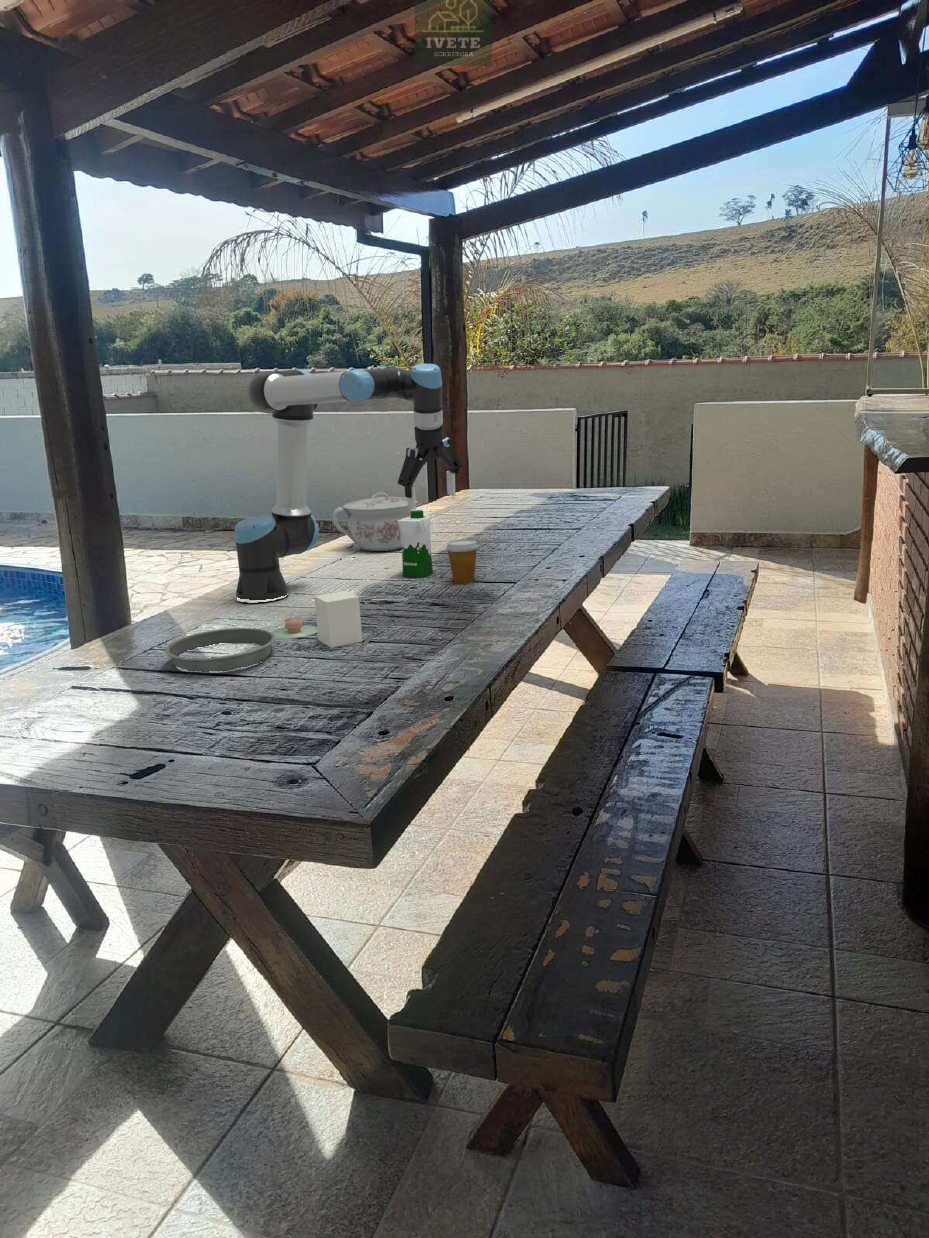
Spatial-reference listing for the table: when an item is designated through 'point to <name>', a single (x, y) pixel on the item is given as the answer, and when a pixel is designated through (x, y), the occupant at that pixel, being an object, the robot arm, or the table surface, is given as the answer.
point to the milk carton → (416, 545)
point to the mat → (365, 642)
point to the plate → (305, 631)
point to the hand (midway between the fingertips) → (431, 501)
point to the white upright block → (338, 618)
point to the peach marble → (293, 625)
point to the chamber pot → (375, 521)
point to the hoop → (215, 638)
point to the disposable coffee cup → (462, 560)
